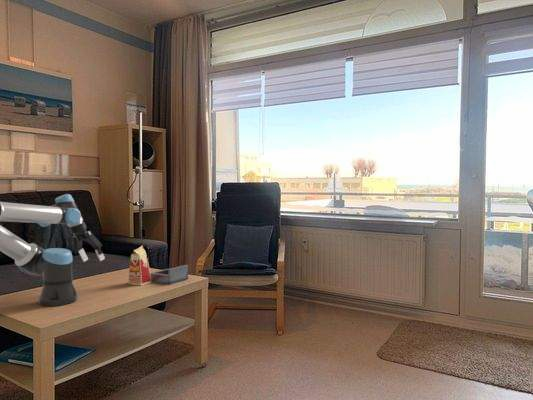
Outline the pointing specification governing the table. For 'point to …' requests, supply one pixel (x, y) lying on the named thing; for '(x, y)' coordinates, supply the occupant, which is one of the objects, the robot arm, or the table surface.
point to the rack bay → (170, 275)
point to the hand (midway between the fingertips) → (94, 260)
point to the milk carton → (139, 268)
